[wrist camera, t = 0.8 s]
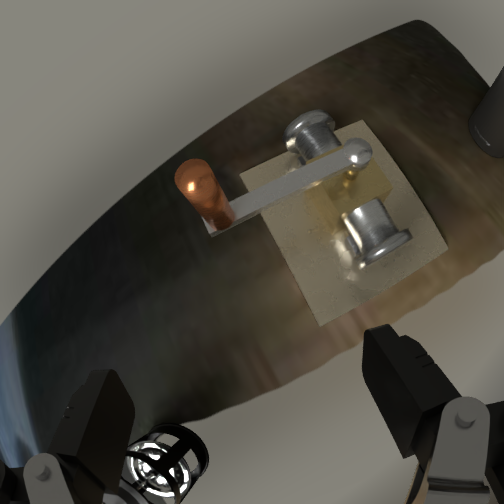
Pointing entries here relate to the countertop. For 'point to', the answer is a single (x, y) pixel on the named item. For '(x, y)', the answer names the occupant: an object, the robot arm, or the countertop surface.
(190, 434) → the french press
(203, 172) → the valve lever
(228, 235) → the countertop surface
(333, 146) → the valve
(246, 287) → the countertop surface
